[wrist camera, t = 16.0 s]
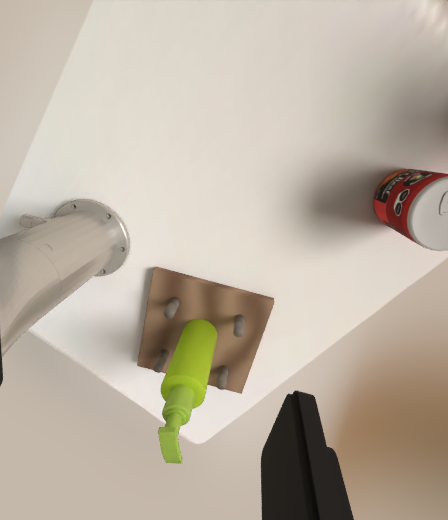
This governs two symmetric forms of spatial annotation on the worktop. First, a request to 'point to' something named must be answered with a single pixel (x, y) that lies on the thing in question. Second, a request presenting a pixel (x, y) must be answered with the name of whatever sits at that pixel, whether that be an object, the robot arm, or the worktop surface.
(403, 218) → the canned food
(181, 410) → the soap dispenser
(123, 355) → the worktop surface
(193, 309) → the peg stand
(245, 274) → the worktop surface
